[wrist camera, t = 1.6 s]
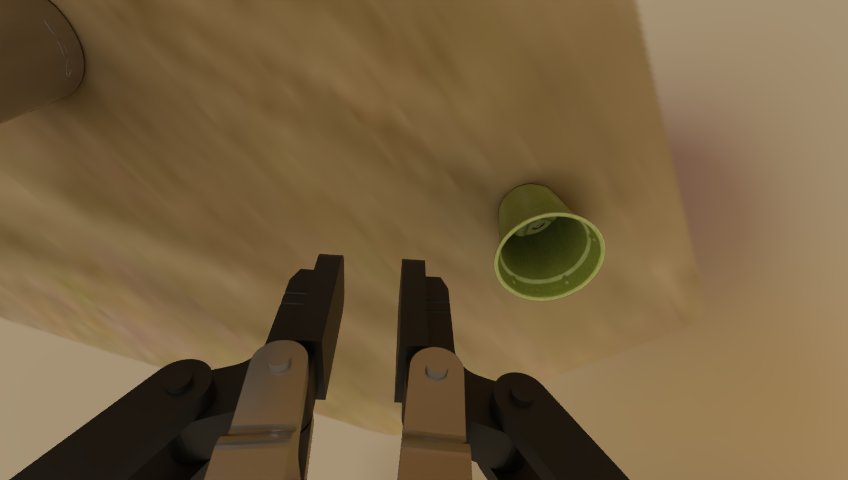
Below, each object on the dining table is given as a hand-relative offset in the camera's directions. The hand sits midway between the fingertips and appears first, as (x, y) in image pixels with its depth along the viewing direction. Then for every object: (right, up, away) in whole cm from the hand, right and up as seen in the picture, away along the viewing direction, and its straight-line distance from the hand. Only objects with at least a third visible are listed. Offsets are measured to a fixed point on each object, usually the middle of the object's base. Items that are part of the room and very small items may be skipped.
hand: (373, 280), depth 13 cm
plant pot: (+12, +5, +30) cm, 33 cm away
